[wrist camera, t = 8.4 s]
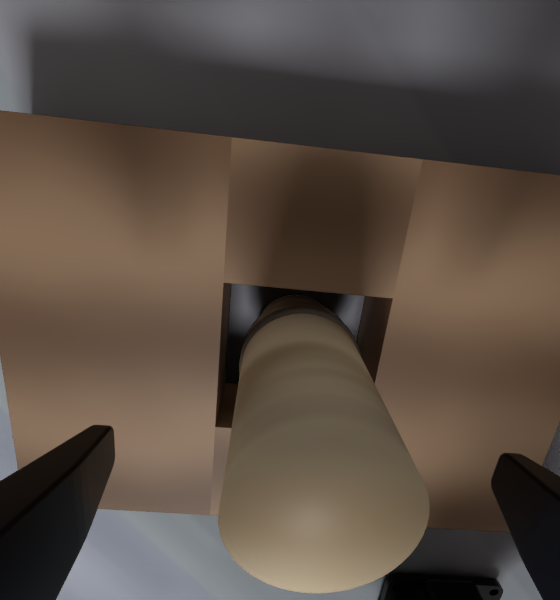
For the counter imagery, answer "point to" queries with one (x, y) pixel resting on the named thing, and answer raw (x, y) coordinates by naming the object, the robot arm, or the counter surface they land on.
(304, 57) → the counter surface
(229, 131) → the counter surface
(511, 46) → the counter surface
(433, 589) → the robot arm
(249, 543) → the birch peg
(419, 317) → the walnut board
